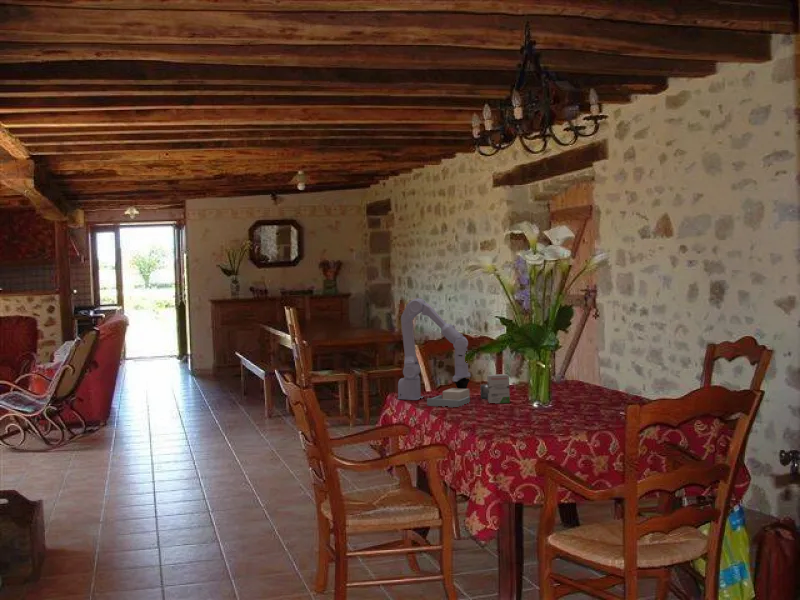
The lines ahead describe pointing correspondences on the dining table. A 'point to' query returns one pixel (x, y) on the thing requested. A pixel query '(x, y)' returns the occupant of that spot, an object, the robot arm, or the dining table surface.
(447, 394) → the carton
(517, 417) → the dining table surface
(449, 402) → the display stand
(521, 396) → the dining table surface
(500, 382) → the ink box
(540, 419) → the dining table surface
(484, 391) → the grey glossy ball
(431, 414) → the dining table surface
